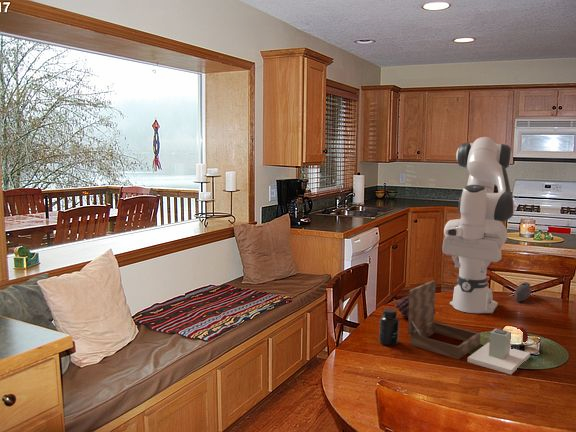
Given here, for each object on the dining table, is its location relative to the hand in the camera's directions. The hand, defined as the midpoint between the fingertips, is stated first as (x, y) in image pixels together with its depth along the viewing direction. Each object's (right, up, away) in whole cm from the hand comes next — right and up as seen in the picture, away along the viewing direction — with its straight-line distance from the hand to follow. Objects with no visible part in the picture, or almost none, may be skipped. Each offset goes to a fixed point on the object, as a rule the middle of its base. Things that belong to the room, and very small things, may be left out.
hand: (470, 270), depth 184 cm
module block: (+6, -27, -11) cm, 30 cm away
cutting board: (+6, -29, -11) cm, 31 cm away
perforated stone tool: (+43, -20, +56) cm, 73 cm away
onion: (+17, -27, 0) cm, 32 cm away
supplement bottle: (-28, -27, +4) cm, 39 cm away
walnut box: (-8, -27, +2) cm, 28 cm away
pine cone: (-13, -23, +29) cm, 39 cm away
